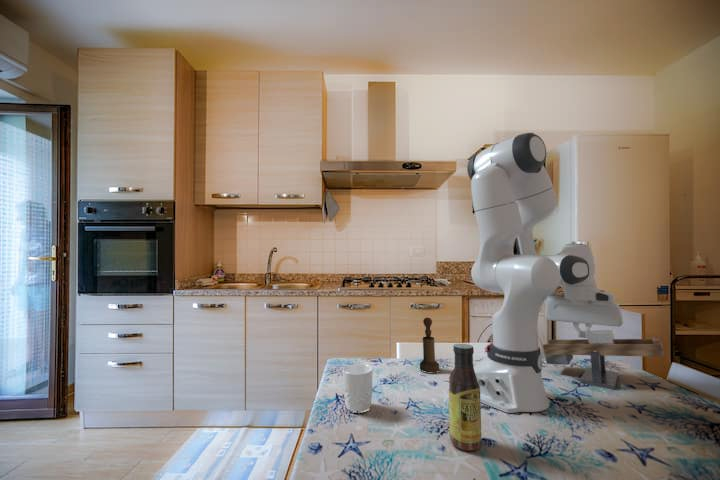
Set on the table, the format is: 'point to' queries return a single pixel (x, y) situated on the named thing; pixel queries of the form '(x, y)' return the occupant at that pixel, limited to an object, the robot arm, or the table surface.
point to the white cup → (357, 386)
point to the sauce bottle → (464, 401)
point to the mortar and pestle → (428, 350)
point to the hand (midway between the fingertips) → (583, 337)
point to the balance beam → (601, 349)
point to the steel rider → (601, 337)
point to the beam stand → (599, 373)
